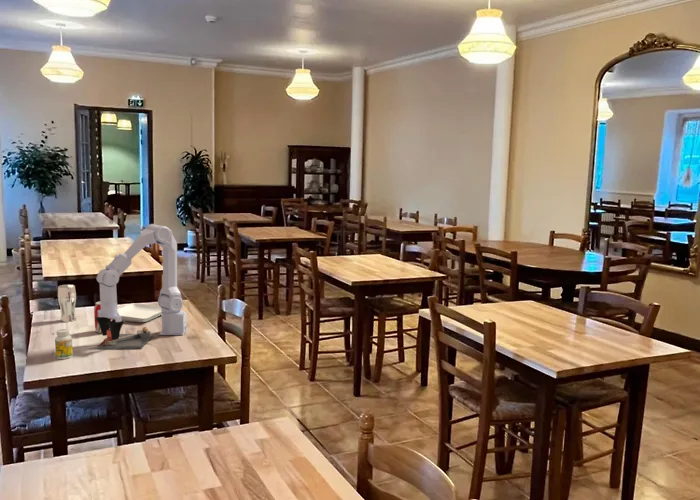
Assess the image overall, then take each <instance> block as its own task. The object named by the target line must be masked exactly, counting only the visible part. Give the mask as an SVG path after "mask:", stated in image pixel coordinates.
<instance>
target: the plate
mask: <svg viewBox="0 0 700 500" xmlns="http://www.w3.org/2000/svg"><path fill="white" fill-rule="evenodd" d="M141 330H142V331H143V332H142V333H141V337H135V338H131V339H127V340H123V341H118V342H114V343H111V342H110V341H107V337H106V338H103V341H101V342H100V343H98V345H97V346H96V350H127V349H128V350H142V349H143V348H144V347H145V346H146V345H147V344H148V342H149V341H150V340H151V339H153V337H154V334H153V333H151V334H149V331H150V330H149V329H148V328H147V327H146V326H145V327H142V329H141ZM132 334H133V333H120V334H119V337H123V336H127V335H132Z"/></svg>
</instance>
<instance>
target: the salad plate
mask: <svg viewBox="0 0 700 500" xmlns="http://www.w3.org/2000/svg"><path fill="white" fill-rule="evenodd" d="M117 312H118V313H119V315H120V316H121V317H122V320H124V322H132V323H133V322H134V323H146V322H149V321H151V320H154V319H155V318H158V316H159V317H160V315H161V307H160V306H159V304H157V305H156V304H148V303H147V304H145V303H134V302H133V303H132V302H131V303H130V304H127V305H125V306H121V307H118V308H117ZM161 316H162V315H161Z"/></svg>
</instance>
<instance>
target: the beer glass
mask: <svg viewBox="0 0 700 500" xmlns="http://www.w3.org/2000/svg"><path fill="white" fill-rule="evenodd" d="M57 299H58V300H57V301H58V304H59V307H60V309H59V310H60V313H61V315H60V322H61V323H72V322H75V321H77V318H76V312H75V311H76V309H75V308H76V304H77V303H76V302H77V292H76V285H74V284H62V285H61V284H60V285H58V286H57Z"/></svg>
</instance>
